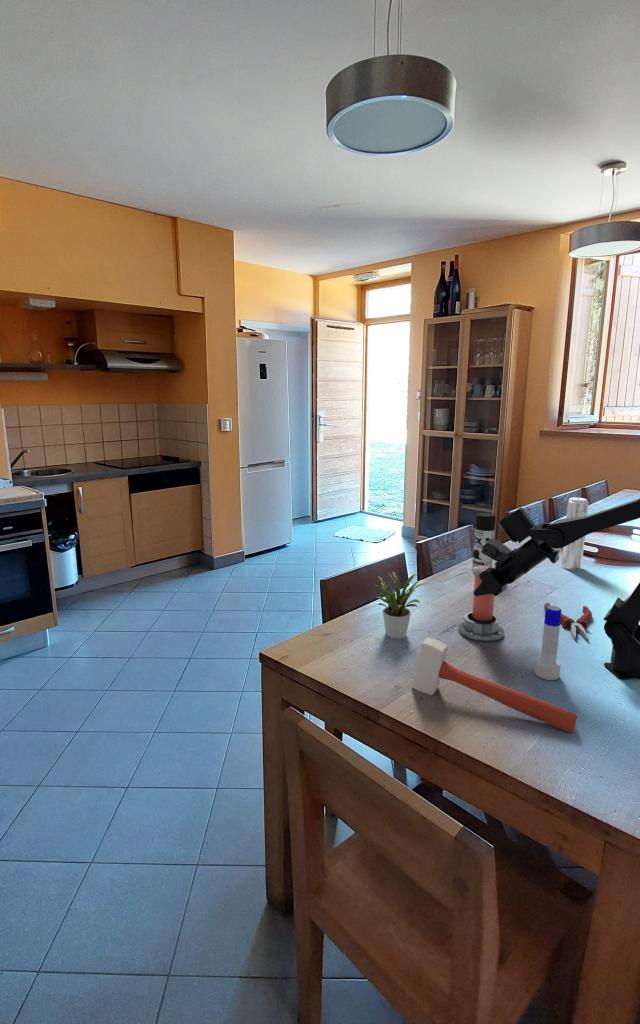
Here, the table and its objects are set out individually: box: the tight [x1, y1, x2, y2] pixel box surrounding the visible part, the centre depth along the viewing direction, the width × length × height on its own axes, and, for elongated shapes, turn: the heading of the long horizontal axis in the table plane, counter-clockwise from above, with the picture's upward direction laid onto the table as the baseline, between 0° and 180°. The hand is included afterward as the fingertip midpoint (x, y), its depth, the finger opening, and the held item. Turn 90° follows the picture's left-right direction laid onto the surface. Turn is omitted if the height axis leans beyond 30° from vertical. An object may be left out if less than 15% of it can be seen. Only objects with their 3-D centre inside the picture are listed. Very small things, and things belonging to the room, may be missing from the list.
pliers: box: [543, 602, 593, 641], centre depth 142 cm, size 12×21×3 cm, turn 166°
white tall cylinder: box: [561, 497, 590, 571], centre depth 187 cm, size 6×6×25 cm
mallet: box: [410, 637, 578, 734], centre depth 104 cm, size 11×4×30 cm
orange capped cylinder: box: [472, 566, 495, 621], centre depth 135 cm, size 6×6×12 cm
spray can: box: [471, 512, 496, 570], centre depth 185 cm, size 7×7×20 cm
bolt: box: [534, 605, 562, 681], centre depth 115 cm, size 16×5×5 cm
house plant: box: [376, 571, 429, 640], centre depth 135 cm, size 14×14×16 cm
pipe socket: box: [457, 610, 505, 643], centre depth 137 cm, size 11×11×4 cm
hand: (478, 591), depth 136 cm, fingers closed on orange capped cylinder, 5 cm apart
